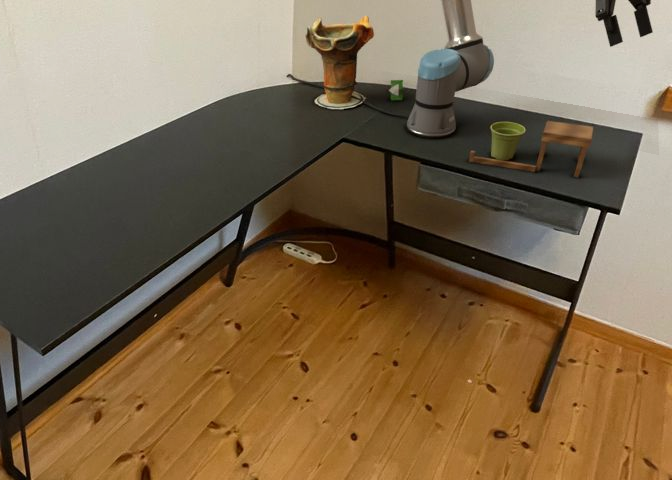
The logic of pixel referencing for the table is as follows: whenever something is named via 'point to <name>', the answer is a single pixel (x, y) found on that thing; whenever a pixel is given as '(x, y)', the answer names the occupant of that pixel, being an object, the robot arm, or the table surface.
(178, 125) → the table surface
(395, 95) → the geometric puzzle
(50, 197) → the table surface
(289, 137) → the table surface
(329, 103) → the decorative vase
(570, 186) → the table surface
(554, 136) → the plant stand
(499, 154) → the plant pot
